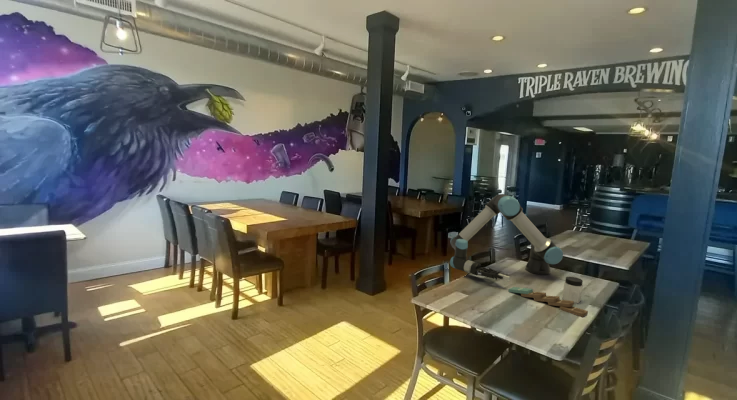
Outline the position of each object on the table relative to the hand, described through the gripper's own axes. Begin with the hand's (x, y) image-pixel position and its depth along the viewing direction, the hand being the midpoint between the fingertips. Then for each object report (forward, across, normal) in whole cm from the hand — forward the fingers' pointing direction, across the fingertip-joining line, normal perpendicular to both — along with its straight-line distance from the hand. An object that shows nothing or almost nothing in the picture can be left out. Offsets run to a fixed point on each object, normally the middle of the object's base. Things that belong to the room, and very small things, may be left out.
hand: (508, 279), depth 211 cm
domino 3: (+23, 0, -5) cm, 24 cm away
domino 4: (+30, 0, -6) cm, 30 cm away
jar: (+29, -16, -6) cm, 33 cm away
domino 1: (+9, 0, -6) cm, 11 cm away
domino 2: (+16, 0, -5) cm, 17 cm away
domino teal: (+2, 0, -5) cm, 6 cm away
